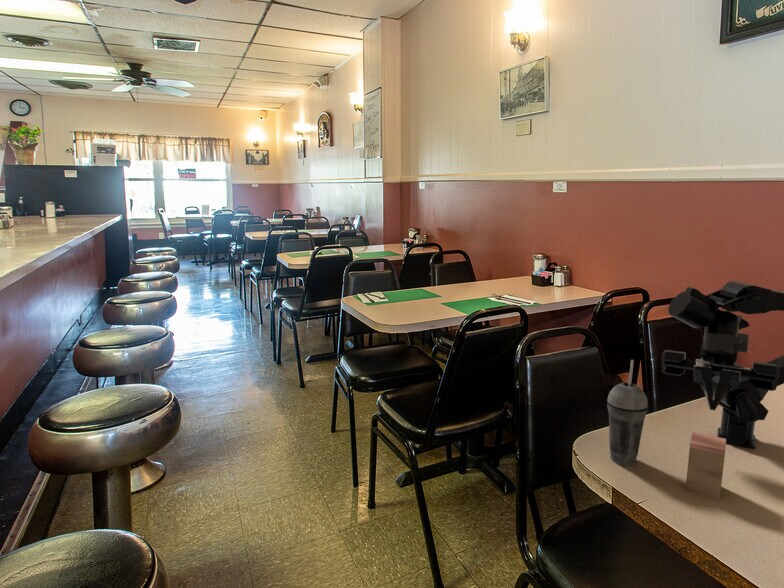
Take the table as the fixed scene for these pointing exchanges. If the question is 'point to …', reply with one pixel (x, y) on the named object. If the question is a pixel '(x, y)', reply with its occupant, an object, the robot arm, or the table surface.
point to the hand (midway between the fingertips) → (712, 409)
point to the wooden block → (705, 465)
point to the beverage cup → (626, 420)
